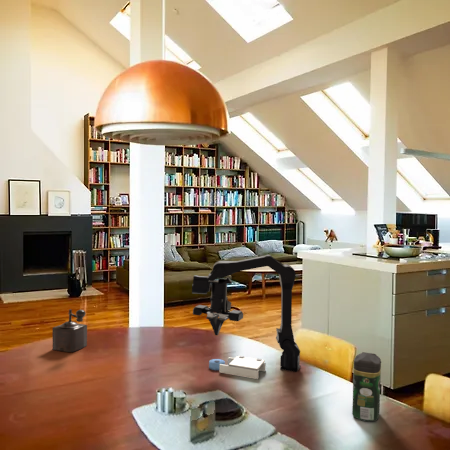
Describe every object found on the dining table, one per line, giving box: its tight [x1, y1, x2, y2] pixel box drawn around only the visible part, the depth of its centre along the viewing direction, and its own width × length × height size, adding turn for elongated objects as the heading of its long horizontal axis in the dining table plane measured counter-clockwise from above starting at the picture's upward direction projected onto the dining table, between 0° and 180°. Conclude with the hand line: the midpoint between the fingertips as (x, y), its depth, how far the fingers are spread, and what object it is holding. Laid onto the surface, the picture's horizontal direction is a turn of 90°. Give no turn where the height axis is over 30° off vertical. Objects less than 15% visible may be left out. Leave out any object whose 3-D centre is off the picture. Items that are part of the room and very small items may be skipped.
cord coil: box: [208, 358, 226, 371], centre depth 183 cm, size 6×6×3 cm
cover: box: [229, 355, 266, 369], centre depth 179 cm, size 11×9×1 cm
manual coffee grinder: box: [51, 308, 88, 353], centre depth 202 cm, size 16×11×18 cm
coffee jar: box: [351, 351, 382, 422], centre depth 145 cm, size 10×8×19 cm
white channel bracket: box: [218, 356, 267, 380], centre depth 179 cm, size 15×9×3 cm, turn 67°
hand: (216, 335), depth 183 cm, fingers closed
